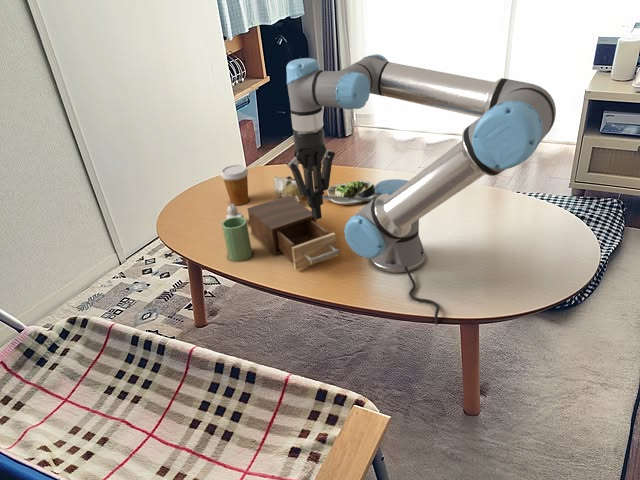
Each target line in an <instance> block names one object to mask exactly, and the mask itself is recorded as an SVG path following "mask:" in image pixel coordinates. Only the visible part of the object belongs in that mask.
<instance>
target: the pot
mask: <svg viewBox="0 0 640 480" xmlns="http://www.w3.org/2000/svg"><path fill="white" fill-rule="evenodd" d="M221 229H222V234H223V238H224V243H225V248H226V253H227V256H228V259H229V260H230V261H233V262H244V261H246V260H248V259H250V258H251V257H252V256H253V250H252V244H251V239H250V233H249V228H248V223H247V219H246V218H245V217H243V218H242V217H232V218H229V219H226V218H225V219H224V220H223V221H222V222H221Z"/></svg>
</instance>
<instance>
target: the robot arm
mask: <svg viewBox="0 0 640 480" xmlns="http://www.w3.org/2000/svg"><path fill="white" fill-rule="evenodd" d="M285 68H286V69H285V70H286V85H287V92H288V98H289V106H290V119H291V125H292V126H291V127H292V130H293V132H292V137H293V145H294V148H295V149H294V151H295V152H294V153H293V156H294V157H293V158H292V159H291V160H288V161H287V162H286V166H287V167H288V169H290V171H291V173H292V177H293V179H295V181H296V184H297V187H298V190H299V192H300V194H302V195H303V196H302V197H305V198H306V199H307V206H308V207H309V208H310V211H311V212H312V216H313V217H314V218H315V219H316V220H320V219H322V218H323V217H322V216H323V215H322V207H321V206H322V205H324V199H323V197H322V196H325V191H327V190H328V189H329V188H330V181H331V172H332V167H333V166H332V165H333V161H334V159H335V156H336V152H335V151H333V150H331V149H328V148H327V146H326V145H325V140H326V139H325V130H324V128H323V127H324V115H323V107H327V108H339V109H344V110H360V109H363V108H364V107H365V106H366V104H367V102H368V101H369V98H370V94H372V95H376V96H380V97H386V98H391V99H394V100H395V99H396V100H400V101H404V102H409V103H414V104H418V105H422V106H427V107H432V108H436V109H440V110H445V111H449V112H455V113H458V114H462V115H466V116H472V117H476V118H477V119H475V121H473V122H472V123H471V124H469V125H468V126H467V127H465V128H464V130H463V132H462V136H461V140H460V141H459V142H458V143H456V144H455V145H454V146H453V147H452V148H450V149H448V150H447V151H446V152H445V153H443V154H442V155H441V156H440V157H438V158H437V159H436V160H434V161H433V162H431V164H429V165H428V166H427V167H425V168H424V169H422V170H421V171H420V172H419V173H417V174H416V175H415V176H413V177H412V178H411V179H410V180H408V179H407V180H406V179H396V178H393V179H391V178H390V179H385V180H381V181H379V182H378V183H376V184H375V186H374V188H375V190H374V191H375V198H374V199H373V200H372V201H370V202H368V203H366V204H365V206H363V207H362V208H361V209H360V210H359V211H358V212H357V213H355V214H354V215H352V216H351V217H350V218H349V220H348V221H347V222H346V223H345V226H344V229H343V230H344V239H345V241H346V243H347V246H349V248H350V249H351V250H352V251H353V252H354V253H355V254H356V255H357V256H359V257H361V258H362V257H363V258H364V259H367V260H370V263H371V264H372V266H373V267H374V268H376V269H377V270H380V271H382V272H385V273H391V274H404V273H406V274H407V276H408V278H409V280H410V281H411V284H412V287H411V289H410V291H409V294H408V295H409V298H411V299H412V300H413V301H416V302H422V303H428V304H431V305H433V306H434V307H435V313H434V325H435V326H438V325H439V321H438V319H439V317H438V316H439V312H440V306H439V304H438V303H437V302H436V301H434V300H432V299H428V298H419V297H416V296H414V295H413V293H414V291H415V290H416V286H417V283H416V281H415V280H414V278H413V276H412V274H411V273H410V272H412V271H415V270H417V269H419V268H420V267H421V266H422V265H423V264H424V263H425V257H426V254H425V249H424V246H423V243H422V240H421V237H420V234H419V231H420V219H421V218H423V217H424V216H426V215H427V214H429V213H430V212H432V211H433V210H435V209H436V208H438V207H439V206H441V205H442V204H444V203H445V202H446V201H448V200H450V199H451V198H452V197H454V196H456V195H457V194H458V193H460V192H461V191H463V190H464V189H466V188H467V187H468V186H470V185H471V184H473V183H474V182H476V181H478V180H479V179H480V178H482V177H484V176H489V177H496V176H498V175H499V174H501V173H502V172H504V171H506V170H508V169H512V168H515V167H518V166H519V165H521V164H522V163H524V162H525V161H527V160H528V159H529V158H530V157H531V156H532V155H533V154H534V152H535V151H536V150H537V149H538V147H539V145H540V143H541V142H542V141H543V140H544V138H546V136H547V135H548V134H549V133H550V131H551V129H552V128H553V126H554V124H555V121H556V116H557V108H556V104H555V100H554V98H553V96H552V95H551V94H550V93H549V92H548V90H546V89H545V88H543V87H541V86H540V85H537V84H535V83H530V82H525V81H520V80H514V79H510V78H504V77H501V78H499V79H497V80H495V81H492V80H487V79H480V78H475V77H472V76H471V77H470V76H464V75H460V74H454V73H448V72H443V71H439V70H433V69H429V68H428V69H427V68H422V67H418V66H412V65H408V64H407V65H406V64H401V63H396V62H392V61H389V60H388V59H387V58H386V57H385V56H383V54H382V55H381V54H379V53H376V54H375V53H374V54H371V55H368V56H364V57H362V58H361V59H360V60H358V61H356V62H354V63H352V64H350V65H348V66H346V67H344V68H342V69H340V70H335V71H334V70H323V69H320V66H319V62H318V60H317V59H315V58H311V57H303V58H297V59H293V60H290V61H289V62H288V63H287V64H286V67H285ZM299 164H300V165H301V168H302V171H303V176H302V172H301V171H300V168H299V166H300V165H299ZM303 178H304V179H303ZM314 191H315V192H316V193H315V192H314Z"/></svg>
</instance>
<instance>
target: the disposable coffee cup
mask: <svg viewBox="0 0 640 480" xmlns="http://www.w3.org/2000/svg"><path fill="white" fill-rule="evenodd" d="M248 174H249V169H248V168H247V167H246V166H245V165H243V164H232V165H228V166H226V167H223V168H222V169H221V174H220V176H221V178H222V179H223V182H224V185H225V189H226V192H227V195H228V198H229V202H230V203H231V204H234V205H235V206H242V205H245V204H247V203H248V202H249V184H248V183H249V182H248V181H249V180H248V176H249V175H248Z"/></svg>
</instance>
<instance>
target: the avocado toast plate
mask: <svg viewBox="0 0 640 480" xmlns="http://www.w3.org/2000/svg"><path fill="white" fill-rule="evenodd" d="M374 190H375V186H374V184H372V183H371V182H369V181H367V180H354V181H350V182H345V183H338V184H333V185H331V186H329V188H328V190H326V192H327V195H322V197H323V200H325V201H329V202H331V203H335V204H338V205H342V206H343V205H344V206H353V205H363V204H368V203H369V202H370V201H372V200H373V199H374V198H375V191H374Z"/></svg>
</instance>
